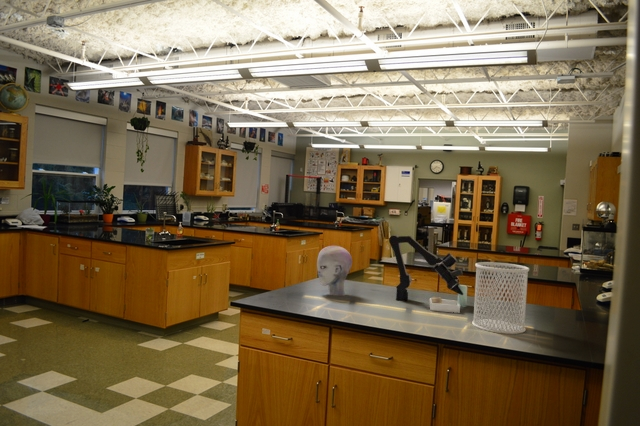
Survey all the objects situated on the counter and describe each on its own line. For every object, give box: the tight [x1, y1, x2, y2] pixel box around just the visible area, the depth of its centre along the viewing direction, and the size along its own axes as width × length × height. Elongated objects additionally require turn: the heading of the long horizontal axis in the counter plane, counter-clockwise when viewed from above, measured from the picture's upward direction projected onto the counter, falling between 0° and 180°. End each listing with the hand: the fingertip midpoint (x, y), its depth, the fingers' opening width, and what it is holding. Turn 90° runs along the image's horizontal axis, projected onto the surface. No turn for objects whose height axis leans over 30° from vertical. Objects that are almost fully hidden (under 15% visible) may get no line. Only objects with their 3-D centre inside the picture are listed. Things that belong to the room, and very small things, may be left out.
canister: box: [457, 284, 468, 308], centre depth 270 cm, size 5×5×12 cm
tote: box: [429, 297, 461, 314], centre depth 262 cm, size 16×14×4 cm
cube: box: [432, 296, 443, 304], centre depth 262 cm, size 5×5×5 cm
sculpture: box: [316, 245, 353, 296], centre depth 288 cm, size 22×20×30 cm
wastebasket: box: [471, 261, 530, 335], centre depth 228 cm, size 25×25×30 cm
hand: (462, 293), depth 270 cm, fingers open, 9 cm apart
